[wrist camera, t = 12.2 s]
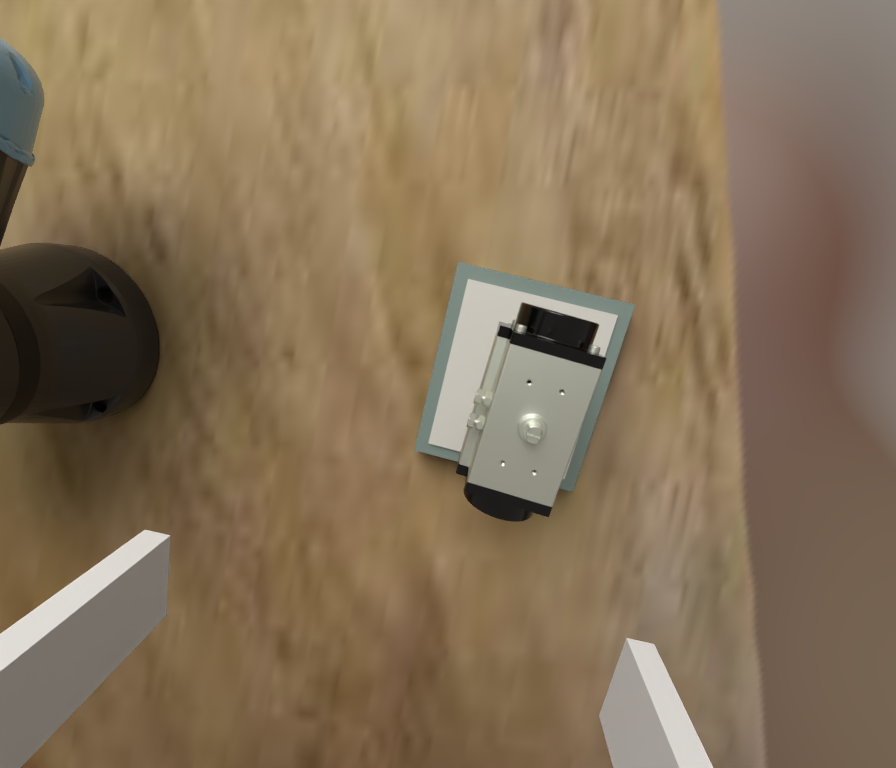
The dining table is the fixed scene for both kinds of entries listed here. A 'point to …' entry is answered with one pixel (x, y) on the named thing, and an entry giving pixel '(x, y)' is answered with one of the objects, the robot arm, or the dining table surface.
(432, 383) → the stand
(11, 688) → the robot arm
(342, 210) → the dining table surface
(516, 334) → the pneumatic valve
